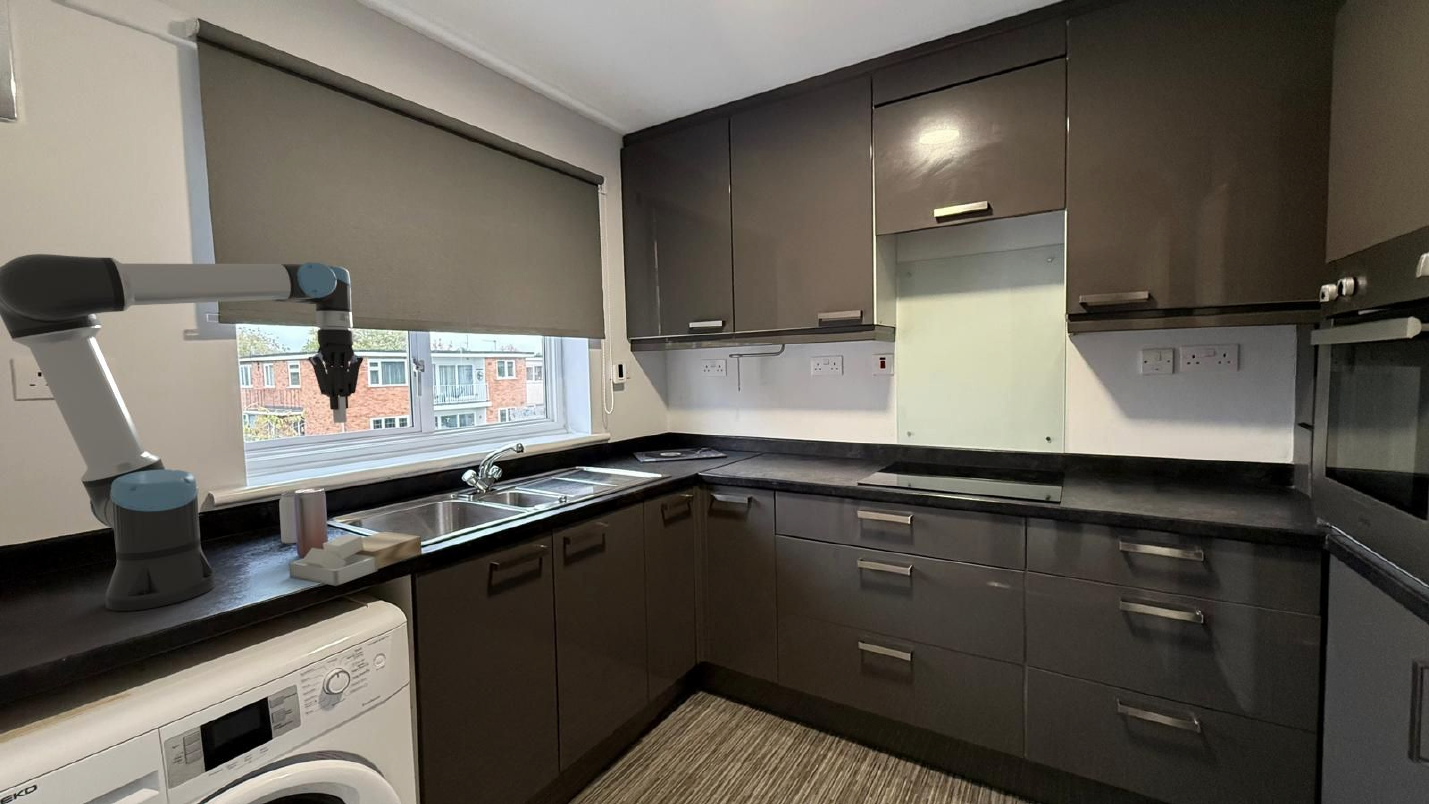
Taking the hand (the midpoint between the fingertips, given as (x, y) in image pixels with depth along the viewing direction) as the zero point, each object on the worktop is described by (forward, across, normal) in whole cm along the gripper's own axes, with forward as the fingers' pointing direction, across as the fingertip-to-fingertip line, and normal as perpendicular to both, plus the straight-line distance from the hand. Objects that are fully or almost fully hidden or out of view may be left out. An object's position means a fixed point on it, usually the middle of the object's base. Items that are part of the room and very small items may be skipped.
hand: (340, 422), depth 149 cm
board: (+29, -10, -25) cm, 40 cm away
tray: (+29, -20, -25) cm, 44 cm away
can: (+30, -7, +8) cm, 31 cm away
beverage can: (+30, -13, -7) cm, 33 cm away
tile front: (+25, -22, -25) cm, 42 cm away
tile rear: (+26, -18, -25) cm, 40 cm away
